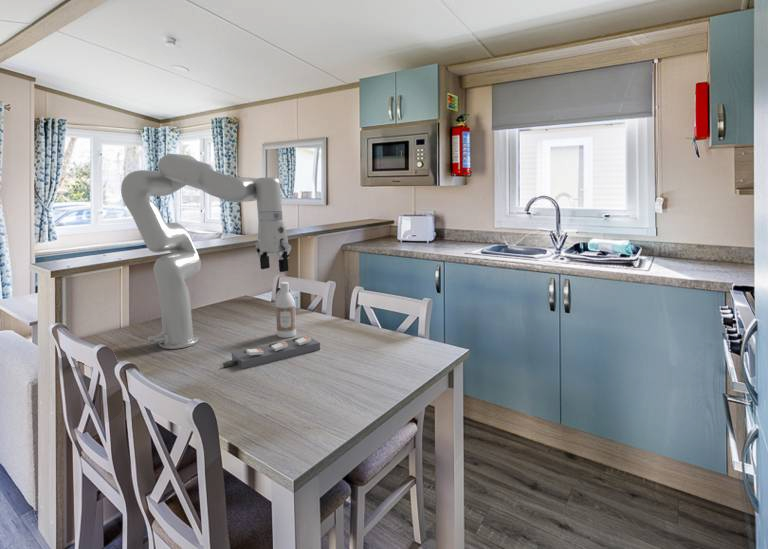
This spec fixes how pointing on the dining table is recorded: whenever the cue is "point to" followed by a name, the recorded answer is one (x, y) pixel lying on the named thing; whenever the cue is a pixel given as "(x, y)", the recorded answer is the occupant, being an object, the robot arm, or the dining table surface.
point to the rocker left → (254, 351)
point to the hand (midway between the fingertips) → (274, 269)
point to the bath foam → (285, 313)
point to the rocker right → (303, 340)
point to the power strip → (272, 353)
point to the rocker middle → (279, 346)
